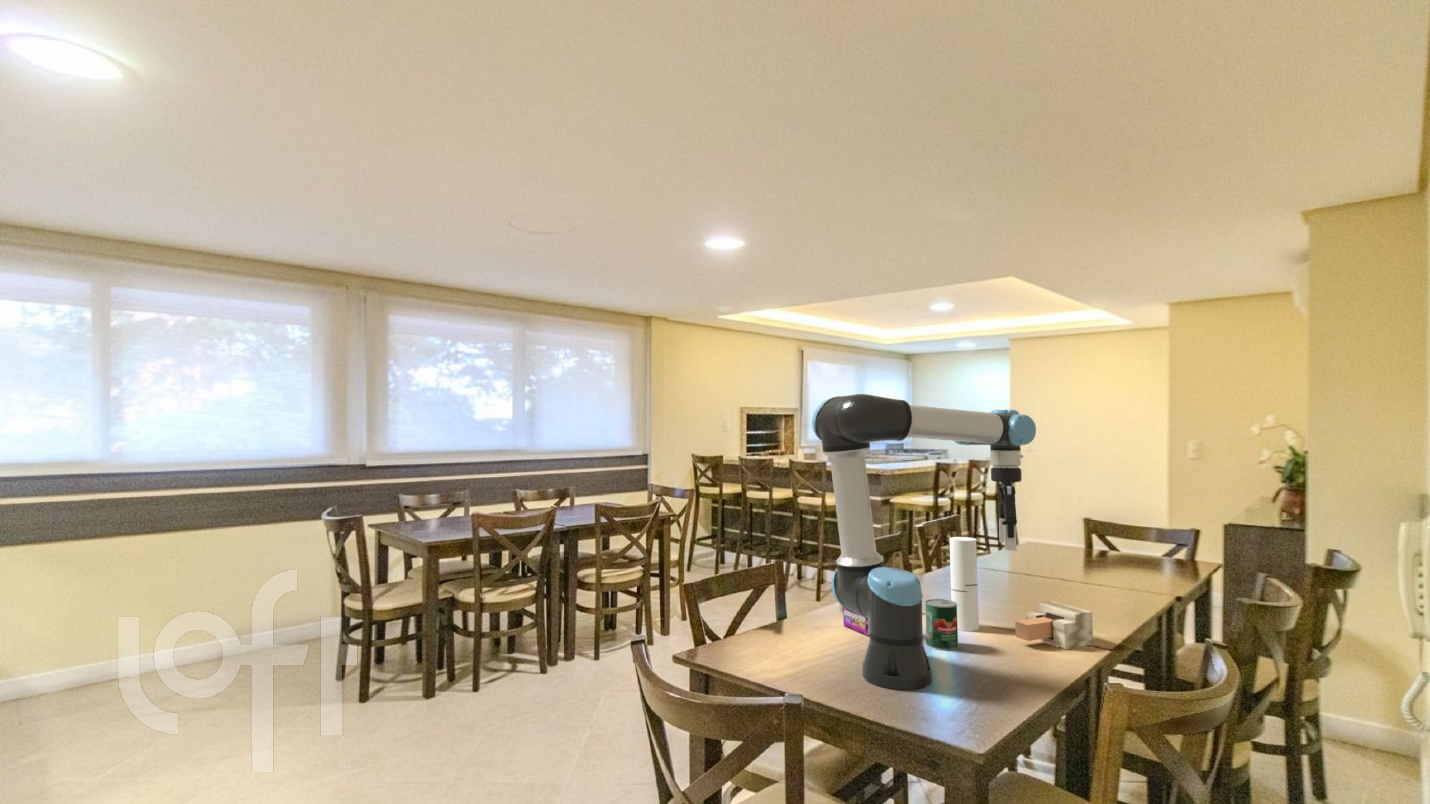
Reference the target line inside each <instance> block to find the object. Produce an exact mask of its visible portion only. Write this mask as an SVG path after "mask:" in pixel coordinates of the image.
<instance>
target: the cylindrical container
mask: <svg viewBox="0 0 1430 804" xmlns="http://www.w3.org/2000/svg"><path fill="white" fill-rule="evenodd" d="M977 553H978V549H977V538H975V537H967V536H952V537H949V559H950V560H949V562H950V563H949V564H950V565H949V566H950V601H954V602H956V603H957V623H958V624H957V626H958V627H957V628H958V631H962V632H976V631H979V630H980V619H979V618H980V617H979V615H980V614H979V613H980V612H979V587H978V584H979V583H978V558H977V557H978V554H977ZM978 629H979V630H978Z"/></svg>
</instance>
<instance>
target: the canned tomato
mask: <svg viewBox="0 0 1430 804" xmlns="http://www.w3.org/2000/svg"><path fill="white" fill-rule="evenodd" d="M924 603H925V641H926V643H925V645H926V646H927V647H928V646H929V647H928V648H930V647H932V648H931V649H933V648H935V649H934V650H937V649H938V650H939V651H954V650H957V649H958V648H959V636H958V634H959V633H958V632H959V630H958V628H957V627H958V626H957V624H958V623H957V603H956V602H954V601H951V599H944V598H931V599H927V600H925V601H924Z"/></svg>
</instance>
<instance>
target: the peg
mask: <svg viewBox="0 0 1430 804" xmlns="http://www.w3.org/2000/svg"><path fill="white" fill-rule="evenodd" d="M1014 624H1015V629H1014V630H1015V638H1017V639H1018V638H1019V639H1021V640H1023V641H1027V642H1029V641H1038V639H1044V638H1050V637H1053V635H1052V619H1049V618H1046V617H1040V618H1033V619H1026V618H1025V619H1021V620H1015V622H1014Z"/></svg>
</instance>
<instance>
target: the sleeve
mask: <svg viewBox="0 0 1430 804" xmlns="http://www.w3.org/2000/svg"><path fill="white" fill-rule="evenodd" d="M1040 617H1046V618H1049V619H1052V635H1053V637H1050V638H1044V639H1038V640H1039V641H1038V640H1037V641H1038V642H1041V641H1042V643H1044V642H1046V643H1045V644H1047V643H1049V644H1048V645H1050V644H1051V645H1050V646H1053V645H1054V646H1053V647H1056V646H1058V647H1057V648H1059V647H1061V648H1060V649H1062V648H1064V649H1066V650H1069V649H1068V648H1072V649H1076V648H1075V647H1078V648H1082V647H1081V646H1083V647H1087V646H1086V645H1089V646H1093V645H1094V634H1093V633H1094V632H1093V631H1094V630H1093V627H1094V626H1093V612H1092V611H1090V610H1087V609H1083V608H1078V607H1076V606H1072V605H1067V604H1065V603H1061V602H1056V601H1046V602H1039V603H1038V602H1037V603H1036V610H1035V611H1034V610H1033V611H1027V612H1025V620H1026V619H1033V618H1040ZM1092 644H1093V645H1092ZM1064 649H1063V650H1064Z"/></svg>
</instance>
